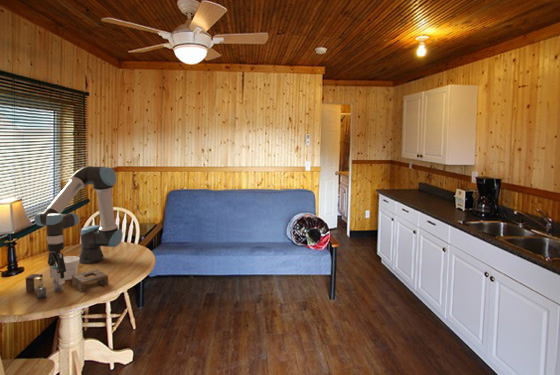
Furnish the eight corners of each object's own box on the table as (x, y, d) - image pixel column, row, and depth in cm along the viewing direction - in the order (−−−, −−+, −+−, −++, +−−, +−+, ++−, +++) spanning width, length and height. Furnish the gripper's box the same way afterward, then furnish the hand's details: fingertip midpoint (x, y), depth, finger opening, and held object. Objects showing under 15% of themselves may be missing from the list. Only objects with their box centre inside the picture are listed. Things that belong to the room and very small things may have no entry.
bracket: (72, 285, 214) (71, 275, 214) (97, 278, 225) (97, 269, 224) (82, 292, 205) (81, 282, 204) (108, 285, 216) (107, 275, 215)
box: (32, 286, 211) (31, 273, 210) (43, 286, 212) (42, 273, 211) (25, 291, 205) (25, 278, 204) (37, 291, 206) (36, 278, 205)
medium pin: (33, 292, 204) (32, 278, 203) (42, 290, 207) (41, 276, 206) (36, 294, 201) (35, 280, 200) (44, 292, 204) (43, 278, 203)
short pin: (36, 297, 198) (35, 288, 197) (44, 295, 201) (44, 286, 200) (38, 299, 195) (38, 290, 194) (47, 297, 198) (46, 288, 197)
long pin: (52, 290, 207) (51, 265, 205) (60, 288, 210) (59, 263, 208) (55, 292, 204) (53, 267, 202) (63, 290, 207) (62, 265, 205)
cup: (63, 282, 217) (62, 264, 216) (52, 278, 224) (51, 260, 222) (84, 276, 228) (84, 258, 226) (73, 271, 234) (72, 254, 233)
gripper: (39, 239, 209) (41, 276, 212) (56, 248, 192) (57, 288, 195) (55, 236, 214) (56, 272, 217) (71, 246, 198) (73, 284, 201)
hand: (57, 280), depth 206 cm, fingers open, 13 cm apart
